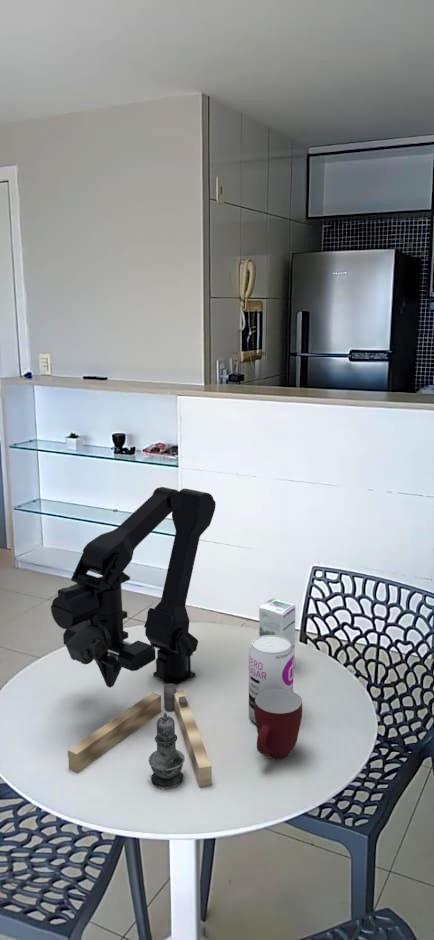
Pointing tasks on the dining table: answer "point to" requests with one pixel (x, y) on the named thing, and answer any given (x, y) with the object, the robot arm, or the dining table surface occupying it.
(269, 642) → the supplement can
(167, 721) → the salt shaker
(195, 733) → the tongs fixed arm
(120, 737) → the tongs jaw
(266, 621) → the syrup box
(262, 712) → the mug
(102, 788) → the dining table surface
